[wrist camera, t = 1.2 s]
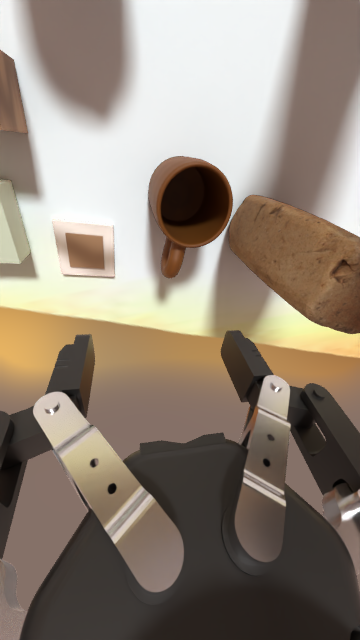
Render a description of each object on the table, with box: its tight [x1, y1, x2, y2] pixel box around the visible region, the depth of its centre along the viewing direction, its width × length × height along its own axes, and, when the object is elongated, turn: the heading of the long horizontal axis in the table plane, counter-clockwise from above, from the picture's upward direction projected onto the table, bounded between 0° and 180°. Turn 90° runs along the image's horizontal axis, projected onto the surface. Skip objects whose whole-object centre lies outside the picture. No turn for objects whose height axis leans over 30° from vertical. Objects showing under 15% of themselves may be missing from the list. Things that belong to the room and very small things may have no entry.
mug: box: [148, 156, 233, 278], centre depth 26 cm, size 12×8×9 cm, turn 161°
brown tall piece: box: [229, 195, 360, 334], centre depth 25 cm, size 11×8×20 cm
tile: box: [52, 219, 115, 277], centre depth 30 cm, size 7×7×1 cm
